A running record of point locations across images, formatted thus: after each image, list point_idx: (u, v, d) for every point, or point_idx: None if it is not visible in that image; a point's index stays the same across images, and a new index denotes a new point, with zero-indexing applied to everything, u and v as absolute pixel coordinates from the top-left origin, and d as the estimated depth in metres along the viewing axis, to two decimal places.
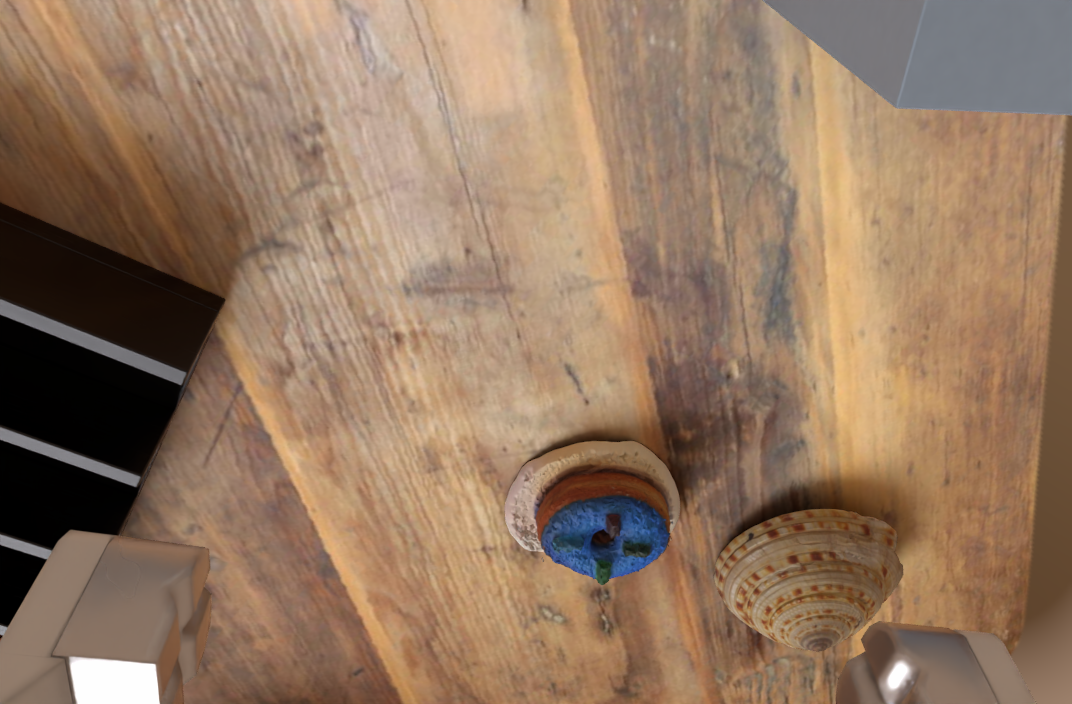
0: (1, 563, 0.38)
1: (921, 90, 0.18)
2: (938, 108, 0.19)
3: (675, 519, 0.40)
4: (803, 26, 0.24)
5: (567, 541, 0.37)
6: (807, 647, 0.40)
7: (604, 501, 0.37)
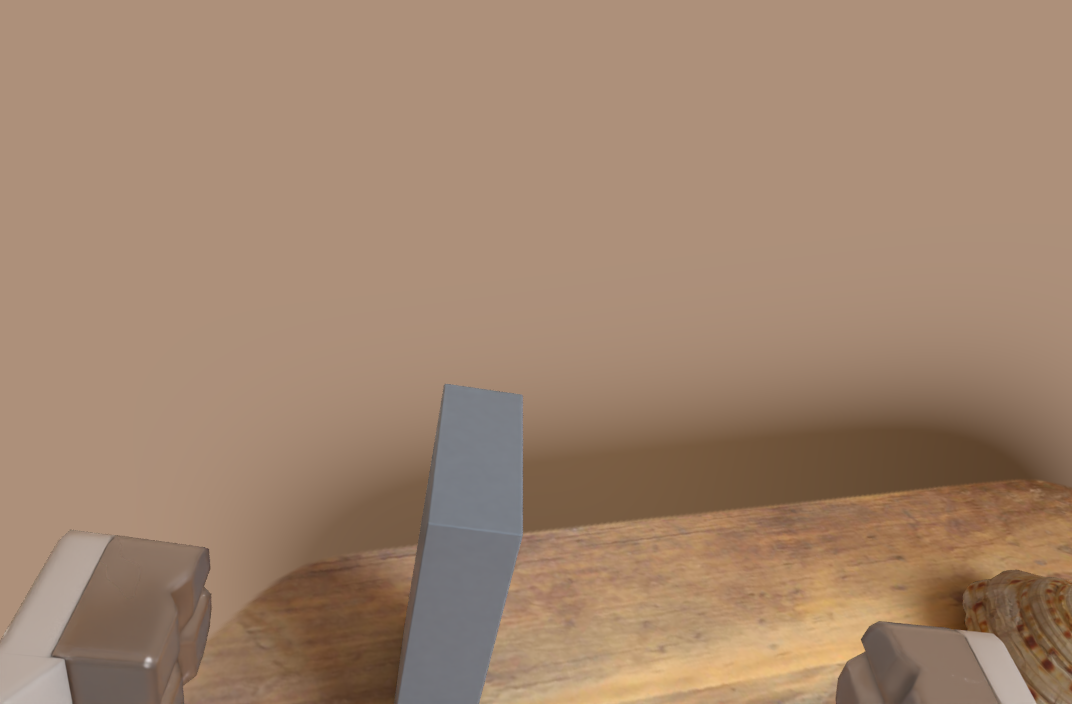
0: None
1: (507, 520, 0.23)
2: (521, 509, 0.24)
3: None
4: (477, 685, 0.27)
5: None
6: None
7: None
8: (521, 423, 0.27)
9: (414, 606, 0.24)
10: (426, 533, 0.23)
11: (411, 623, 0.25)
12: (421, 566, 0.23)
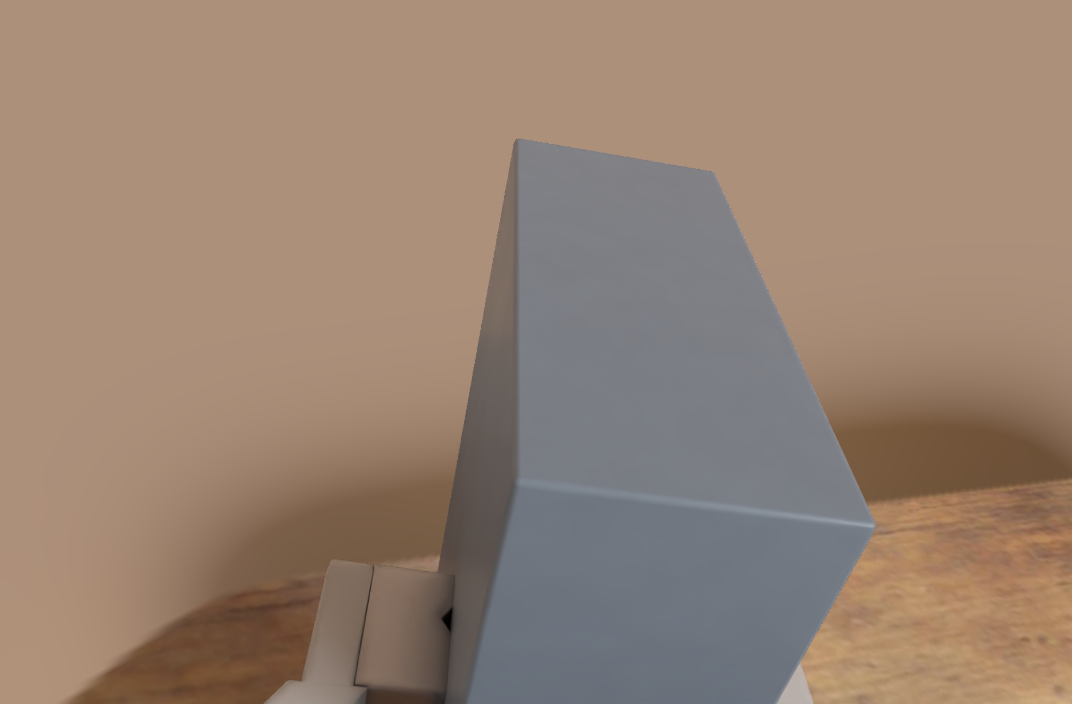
0: None
1: (805, 473, 0.06)
2: (833, 438, 0.07)
3: None
4: None
5: None
6: None
7: None
8: (735, 223, 0.10)
9: None
10: (506, 523, 0.06)
11: None
12: (481, 644, 0.07)
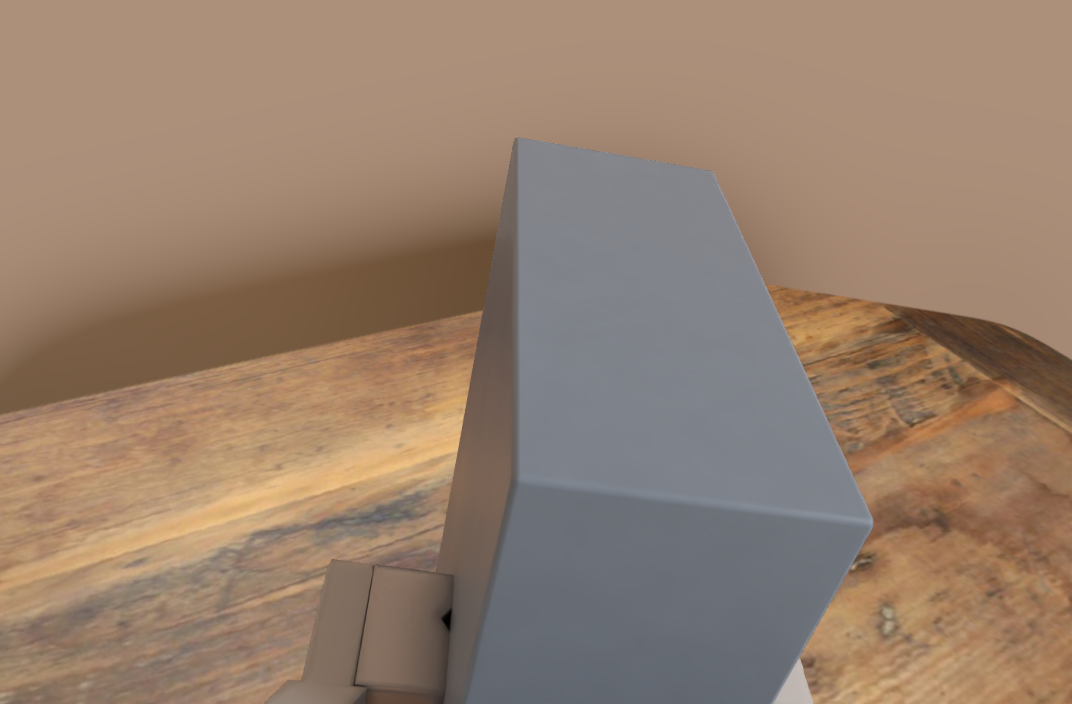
0: None
1: (803, 471, 0.06)
2: (831, 435, 0.07)
3: None
4: None
5: None
6: None
7: None
8: (734, 222, 0.10)
9: None
10: (505, 519, 0.06)
11: None
12: (480, 641, 0.07)
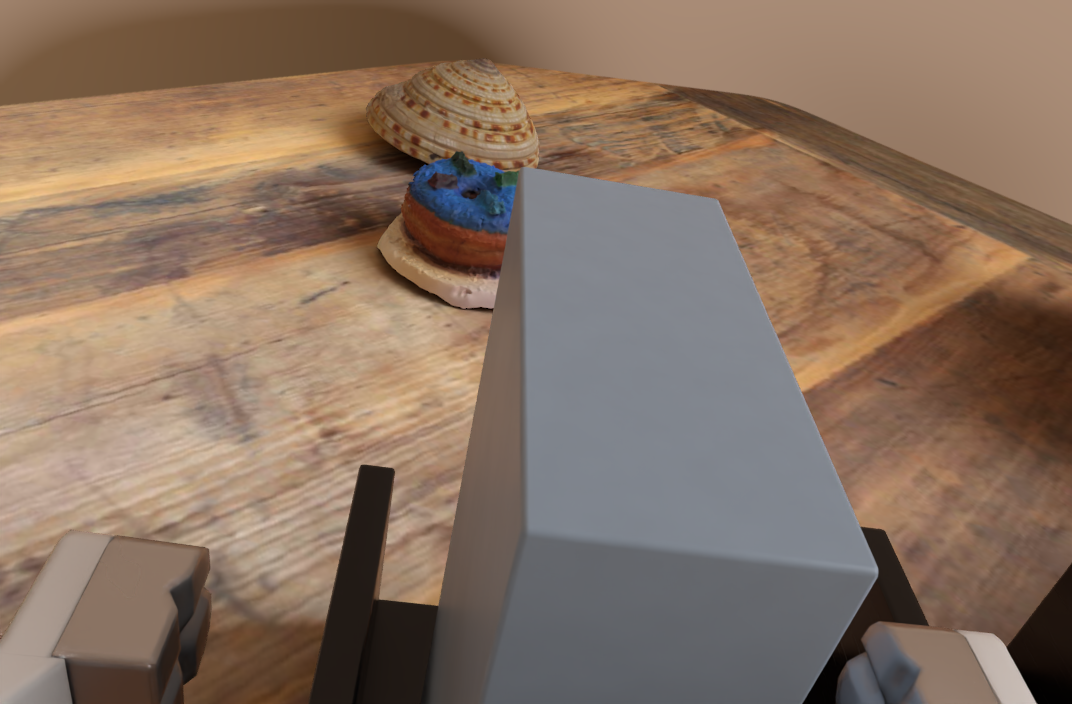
0: None
1: (809, 518, 0.06)
2: (836, 480, 0.07)
3: None
4: None
5: (485, 201, 0.32)
6: (493, 68, 0.42)
7: (423, 199, 0.33)
8: (739, 254, 0.10)
9: None
10: (514, 569, 0.06)
11: None
12: (488, 684, 0.07)
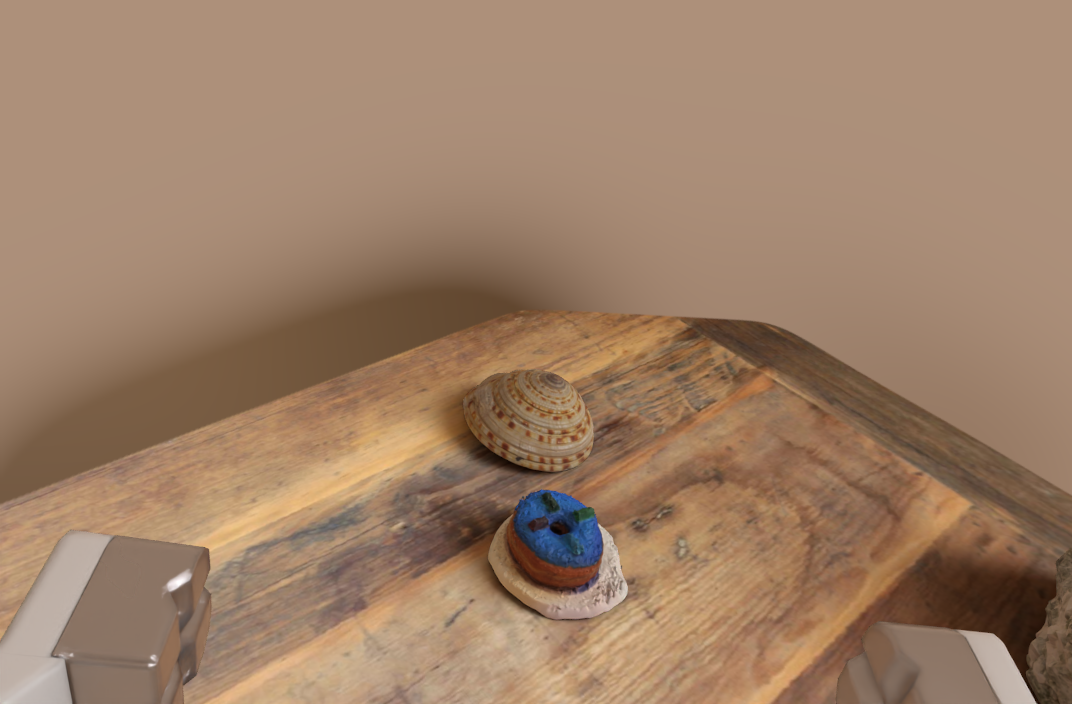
0: None
1: None
2: None
3: None
4: None
5: (570, 544, 0.46)
6: (561, 383, 0.55)
7: (525, 539, 0.46)
8: None
9: None
10: None
11: None
12: None
